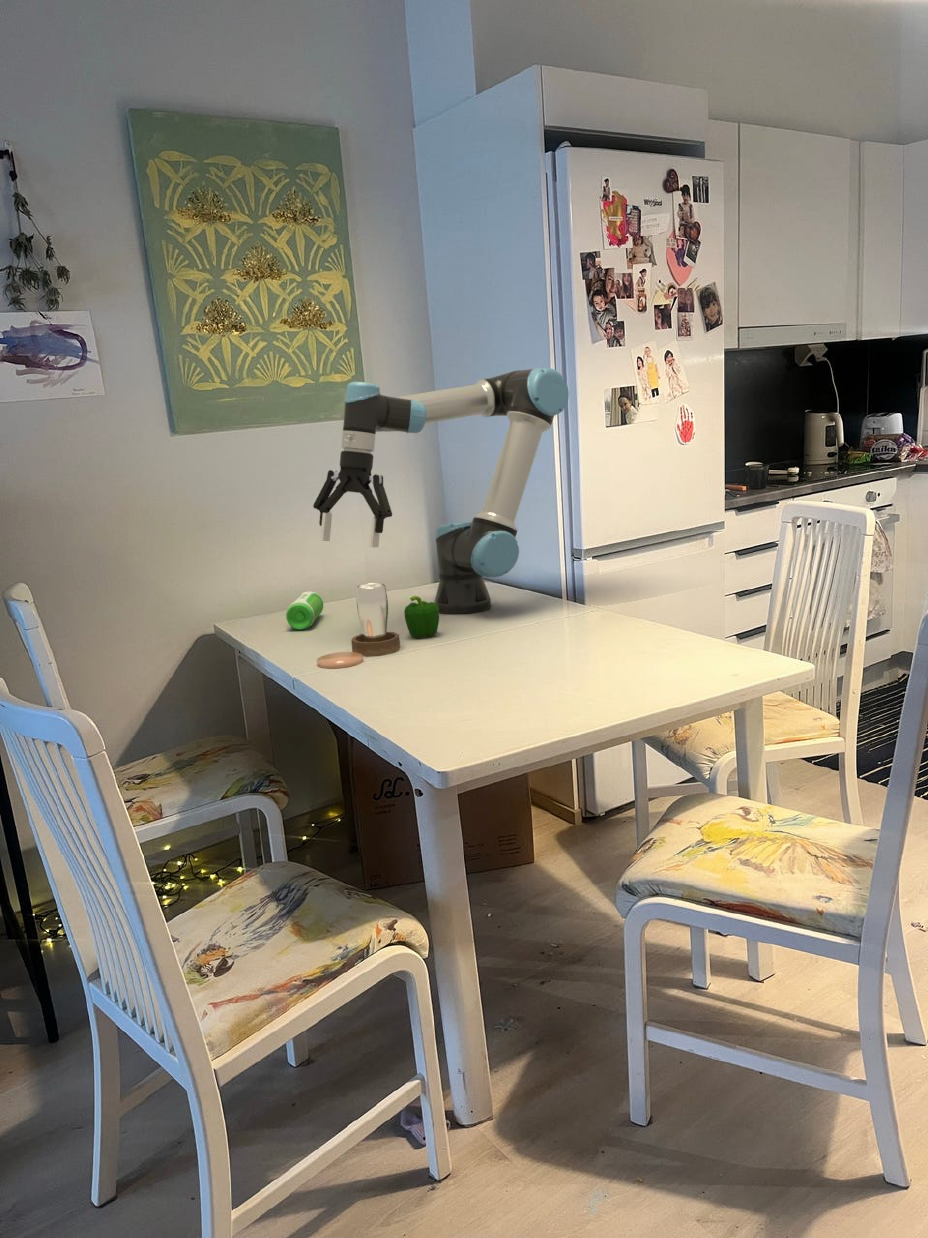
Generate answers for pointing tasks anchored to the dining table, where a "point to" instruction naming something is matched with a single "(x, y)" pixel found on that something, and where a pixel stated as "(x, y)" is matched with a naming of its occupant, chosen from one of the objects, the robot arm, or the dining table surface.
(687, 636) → the dining table surface
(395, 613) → the dining table surface
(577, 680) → the dining table surface
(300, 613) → the speaker
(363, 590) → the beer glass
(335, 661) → the pinkish-brown smooth disc
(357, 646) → the walnut collar
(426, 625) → the bell pepper
